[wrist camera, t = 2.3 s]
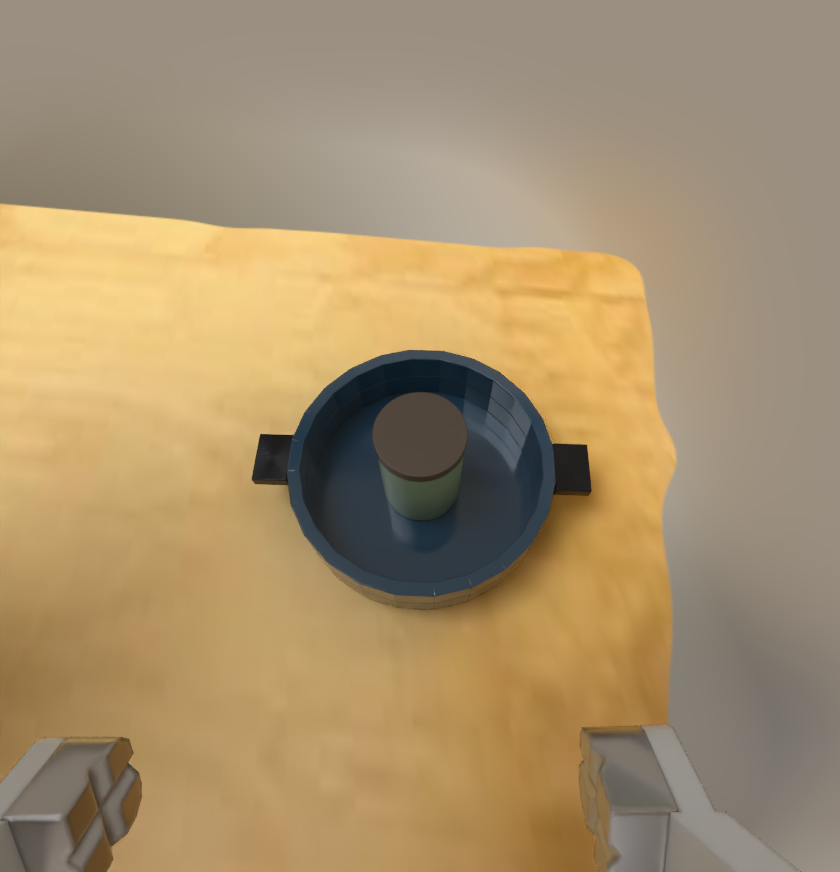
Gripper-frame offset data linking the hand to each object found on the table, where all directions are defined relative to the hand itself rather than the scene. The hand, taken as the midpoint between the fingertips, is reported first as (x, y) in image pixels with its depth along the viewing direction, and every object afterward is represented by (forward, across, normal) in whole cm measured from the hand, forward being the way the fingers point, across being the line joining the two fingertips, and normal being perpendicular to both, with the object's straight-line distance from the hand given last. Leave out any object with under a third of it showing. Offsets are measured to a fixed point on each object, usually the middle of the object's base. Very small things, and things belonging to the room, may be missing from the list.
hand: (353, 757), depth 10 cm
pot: (+28, 0, +6) cm, 29 cm away
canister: (+28, 0, +6) cm, 29 cm away
